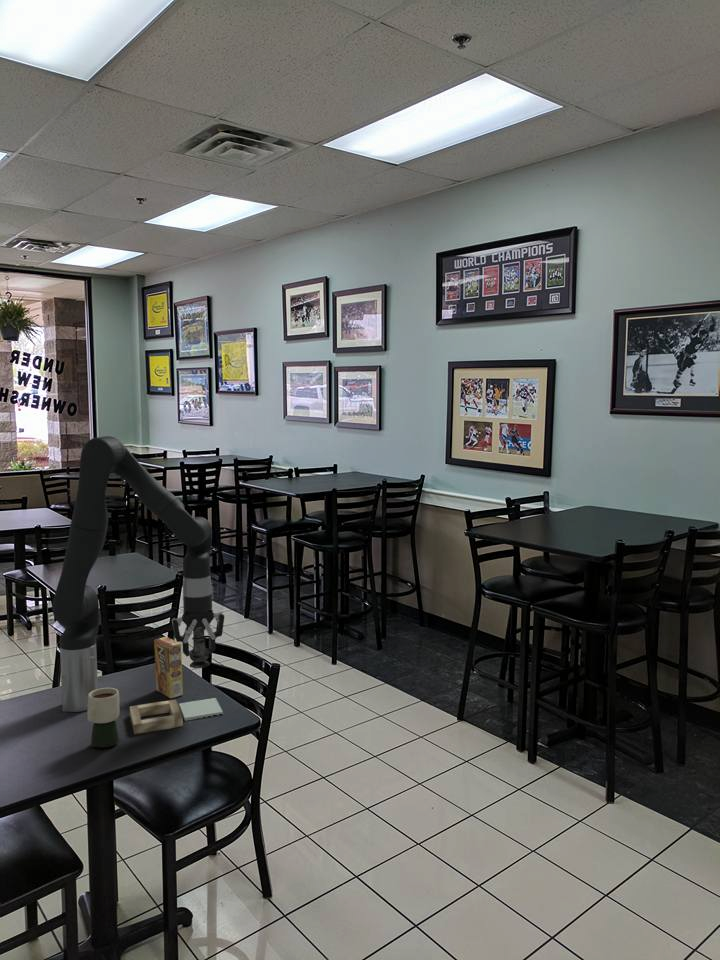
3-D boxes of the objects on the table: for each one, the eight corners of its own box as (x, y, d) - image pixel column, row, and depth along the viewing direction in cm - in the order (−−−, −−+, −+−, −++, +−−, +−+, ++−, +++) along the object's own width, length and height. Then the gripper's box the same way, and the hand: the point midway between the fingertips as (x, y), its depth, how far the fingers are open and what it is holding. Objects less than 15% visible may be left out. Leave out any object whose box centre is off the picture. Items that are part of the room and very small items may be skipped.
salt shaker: (205, 669, 187) (204, 625, 186) (184, 667, 188) (183, 623, 187) (214, 661, 193) (213, 618, 191) (194, 660, 194) (192, 617, 193)
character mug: (108, 732, 178) (106, 683, 177) (131, 737, 176) (130, 686, 175) (77, 752, 168) (75, 699, 167) (102, 757, 166) (100, 703, 164)
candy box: (183, 695, 202) (182, 643, 200) (170, 699, 199) (168, 646, 198) (168, 686, 208) (166, 636, 207) (154, 690, 205) (153, 639, 204)
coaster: (184, 720, 185) (184, 717, 185) (179, 706, 194) (179, 703, 194) (222, 714, 189) (222, 711, 189) (215, 700, 198) (215, 697, 198)
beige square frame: (134, 734, 177) (133, 724, 177) (129, 715, 188) (129, 706, 188) (182, 726, 182) (182, 716, 182) (175, 708, 193) (175, 699, 193)
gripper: (221, 586, 195) (223, 646, 196) (167, 592, 189) (169, 653, 191) (227, 593, 188) (228, 654, 189) (171, 598, 182) (173, 662, 184)
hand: (199, 653), depth 190 cm, fingers closed on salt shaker, 6 cm apart
